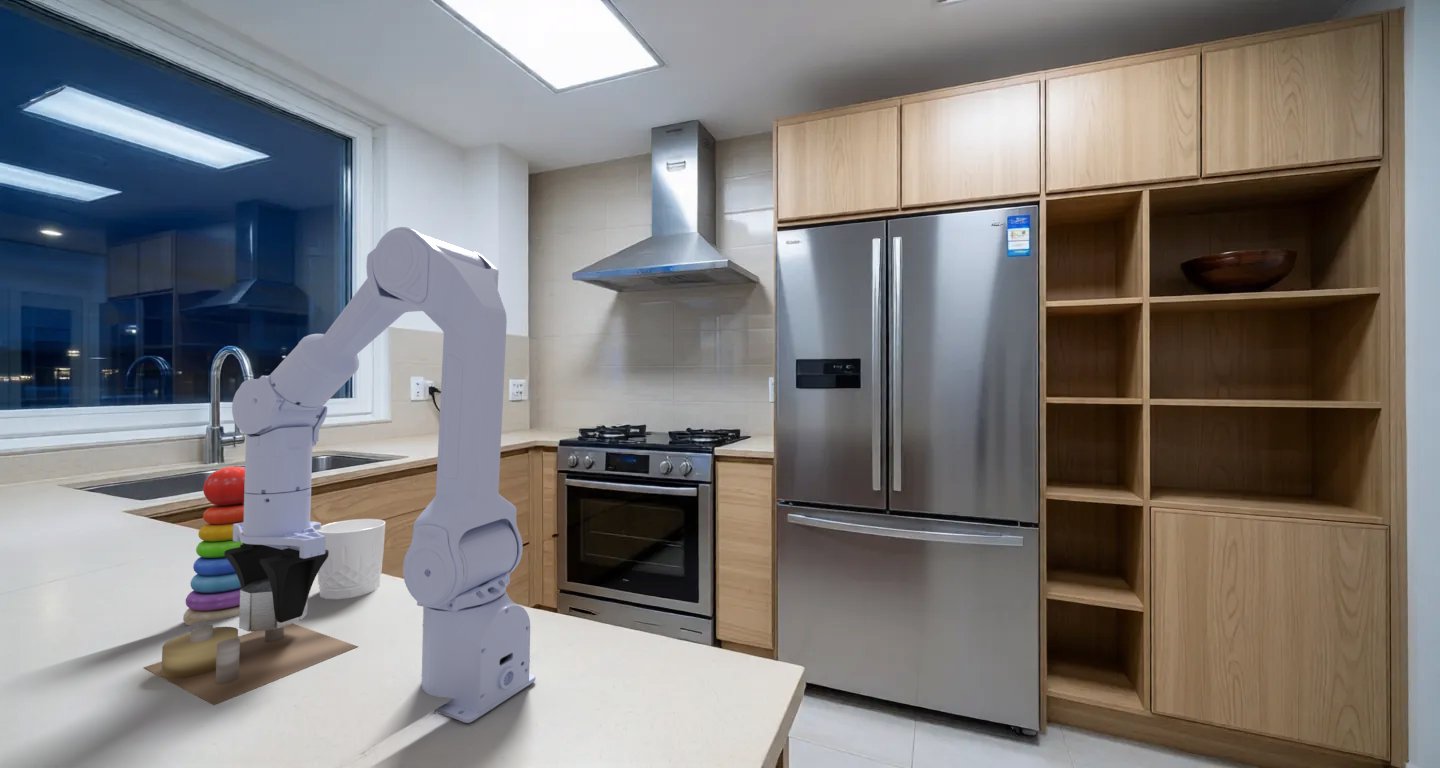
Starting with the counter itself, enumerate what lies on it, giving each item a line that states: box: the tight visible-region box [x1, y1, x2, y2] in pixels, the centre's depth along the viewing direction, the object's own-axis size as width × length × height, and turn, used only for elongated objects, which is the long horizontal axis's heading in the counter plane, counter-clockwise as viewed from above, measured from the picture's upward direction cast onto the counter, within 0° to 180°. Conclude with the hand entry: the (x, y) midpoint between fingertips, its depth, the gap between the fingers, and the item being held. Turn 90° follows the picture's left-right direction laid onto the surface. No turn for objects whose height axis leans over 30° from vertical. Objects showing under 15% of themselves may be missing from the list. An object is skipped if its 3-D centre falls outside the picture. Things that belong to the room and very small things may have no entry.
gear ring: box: [238, 578, 309, 633], centre depth 59 cm, size 5×5×4 cm
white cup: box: [316, 518, 386, 600], centre depth 73 cm, size 8×8×10 cm
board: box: [143, 623, 359, 706], centre depth 55 cm, size 14×12×5 cm
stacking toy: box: [182, 466, 245, 626], centre depth 67 cm, size 8×8×19 cm
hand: (275, 613), depth 59 cm, fingers closed on gear ring, 5 cm apart
